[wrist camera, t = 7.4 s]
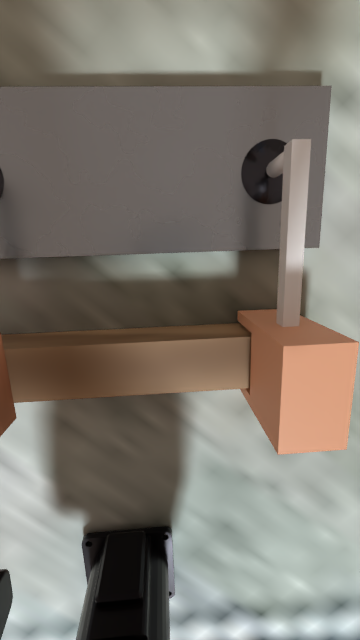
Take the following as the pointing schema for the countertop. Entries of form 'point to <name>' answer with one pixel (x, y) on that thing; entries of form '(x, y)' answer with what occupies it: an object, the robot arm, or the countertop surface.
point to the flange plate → (153, 167)
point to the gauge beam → (121, 363)
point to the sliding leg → (298, 339)
